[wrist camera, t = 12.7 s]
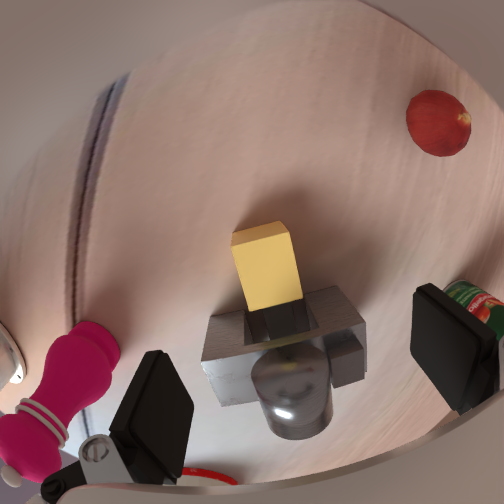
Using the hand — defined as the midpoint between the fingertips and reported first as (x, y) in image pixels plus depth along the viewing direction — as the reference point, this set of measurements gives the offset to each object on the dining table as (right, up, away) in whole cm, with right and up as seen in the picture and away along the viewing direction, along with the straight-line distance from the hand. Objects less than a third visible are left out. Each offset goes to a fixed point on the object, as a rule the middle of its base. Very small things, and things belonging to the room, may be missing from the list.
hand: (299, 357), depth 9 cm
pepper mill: (-19, -6, +17) cm, 26 cm away
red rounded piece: (+14, +15, +12) cm, 24 cm away
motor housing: (+1, -3, +16) cm, 16 cm away
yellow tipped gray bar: (+1, -4, +16) cm, 17 cm away
